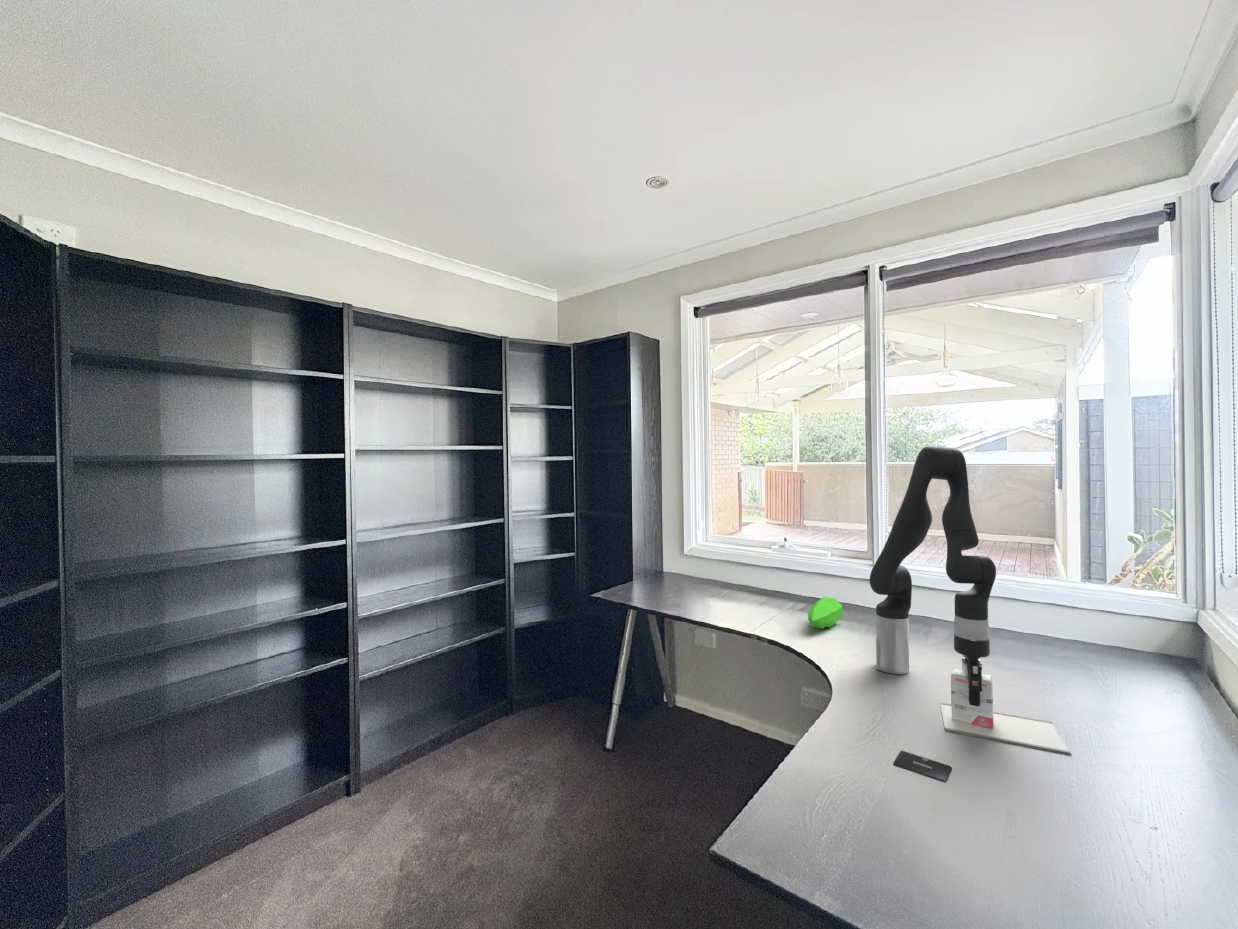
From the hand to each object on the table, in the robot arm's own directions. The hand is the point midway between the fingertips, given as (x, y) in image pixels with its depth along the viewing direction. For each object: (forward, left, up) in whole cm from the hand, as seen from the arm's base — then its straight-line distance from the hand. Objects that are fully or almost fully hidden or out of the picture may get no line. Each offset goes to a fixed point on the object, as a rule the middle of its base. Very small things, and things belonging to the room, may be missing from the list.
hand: (972, 698), depth 132 cm
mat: (+6, 0, -6) cm, 8 cm away
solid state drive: (-12, -28, -7) cm, 31 cm away
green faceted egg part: (-43, +67, -6) cm, 80 cm away
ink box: (0, 0, -6) cm, 6 cm away
